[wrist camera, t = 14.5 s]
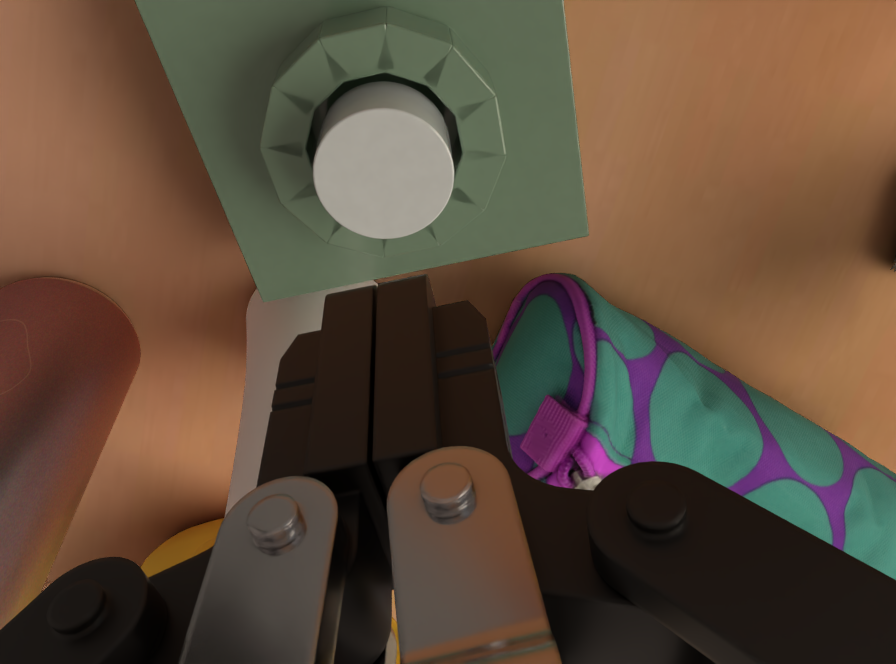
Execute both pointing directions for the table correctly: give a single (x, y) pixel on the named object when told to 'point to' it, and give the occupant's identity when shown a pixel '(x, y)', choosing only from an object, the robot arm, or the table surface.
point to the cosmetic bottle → (269, 373)
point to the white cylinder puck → (383, 161)
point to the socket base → (356, 63)
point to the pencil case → (673, 419)
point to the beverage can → (53, 417)
